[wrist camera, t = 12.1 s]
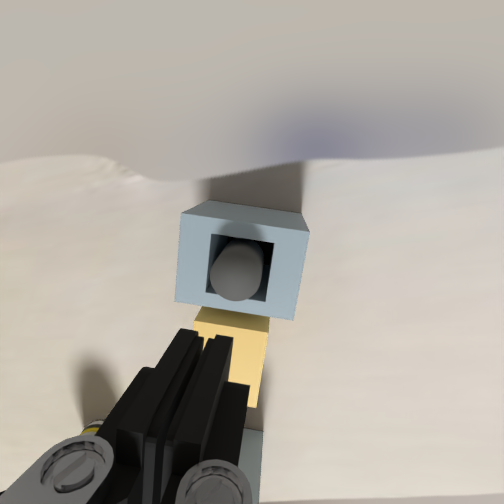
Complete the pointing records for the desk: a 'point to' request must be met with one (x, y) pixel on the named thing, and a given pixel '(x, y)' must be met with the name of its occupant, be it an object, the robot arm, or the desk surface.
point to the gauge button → (238, 270)
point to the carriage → (238, 343)
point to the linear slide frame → (271, 285)
